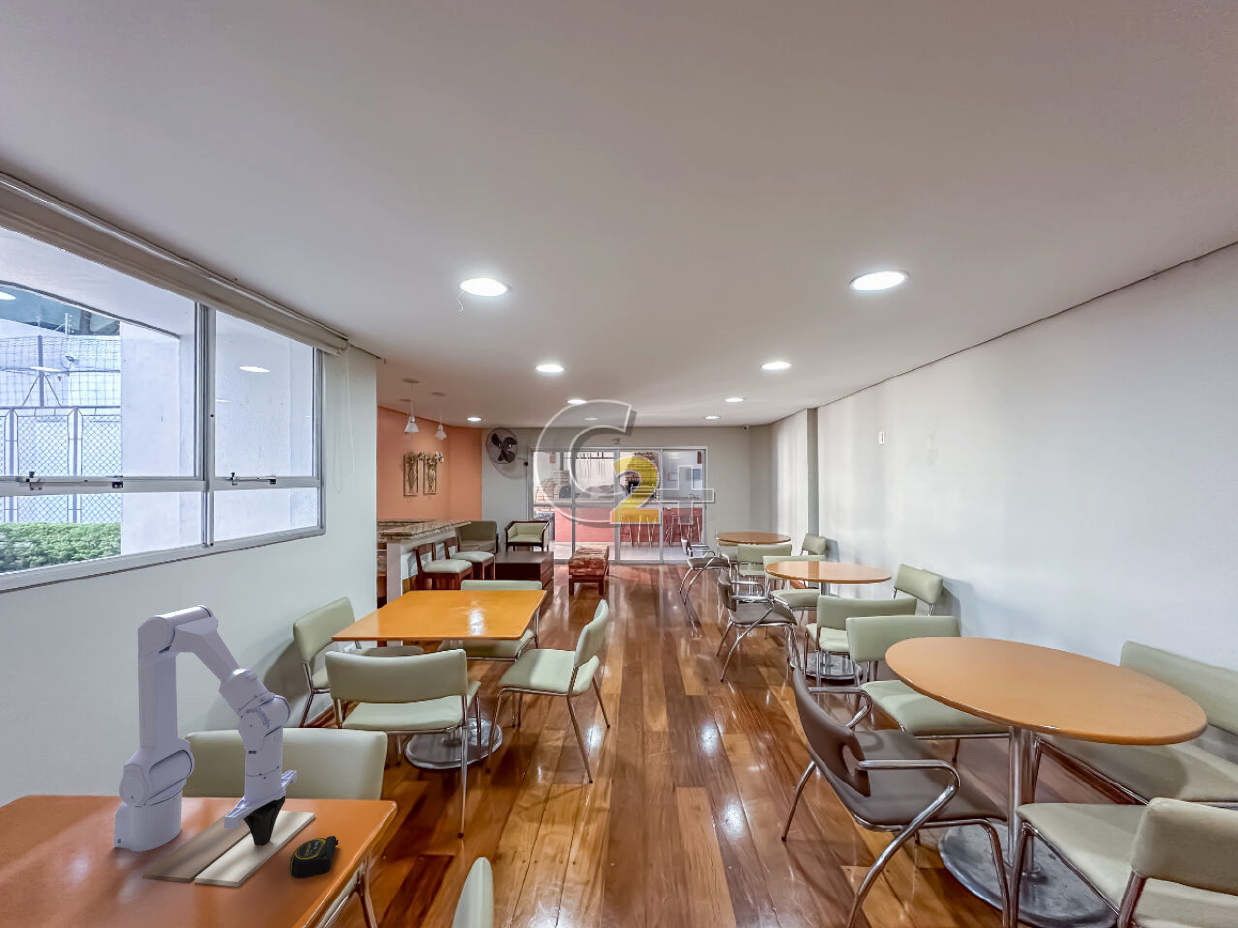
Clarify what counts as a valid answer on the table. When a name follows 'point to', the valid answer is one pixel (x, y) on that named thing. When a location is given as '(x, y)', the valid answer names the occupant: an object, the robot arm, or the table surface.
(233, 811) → the robot arm
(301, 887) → the table surface
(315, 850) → the tape measure
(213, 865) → the plank
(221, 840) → the grey rectangular panel
